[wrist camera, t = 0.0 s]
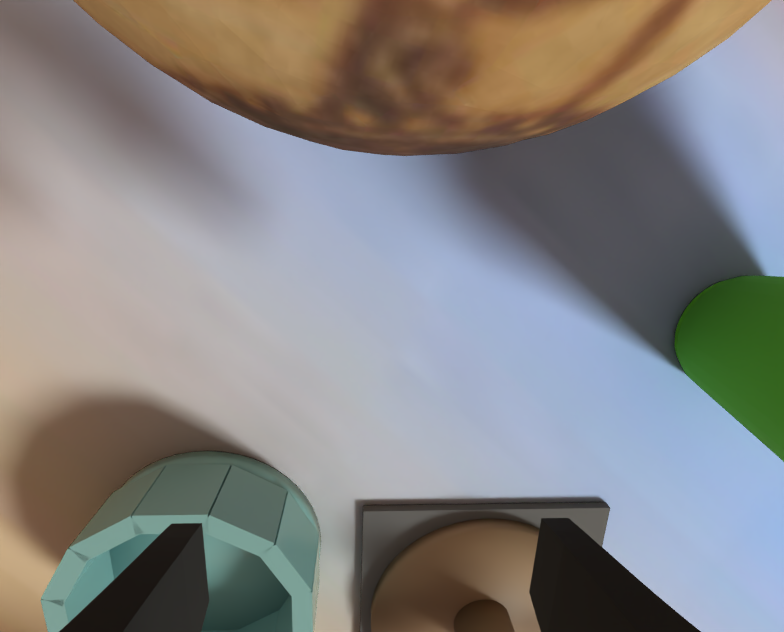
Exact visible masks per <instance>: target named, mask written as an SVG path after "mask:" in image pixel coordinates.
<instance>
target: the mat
mask: <svg viewBox="0 0 784 632" xmlns="http://www.w3.org/2000/svg"><path fill="white" fill-rule="evenodd" d="M609 511H610V507H609V506H608V505H607V503H606V502H593V503H520V504H446V505H372V506H363V539H362V576H361V612H360V632H371V604H372V598H373V594H374V591H375V588H376V586H377V583H378V581H379V579H380V577H381V576H382V574H383V573H384V571H385V569H386V568H387V566H388V565H389V564H390V563H391V562H392V561H393V559H394V558H395V557H396V556H397V555H398V554H399V553H401V552H402V551H403V550H404V549H405V548H406V547H407V546H409V545H410V544H412V543H413V542H415V541H416V540H417V539H419V538H421V537H423V536H425V535H426V534H428V533H430V532H432V531H435V530H437V529H439V528H442V527H444V526H448V525H451V524H454V523H458V522H462V521H468V520H474V519H487V518H490V519H506V520H513V521H518V522H522V523H525V524H529V525H531V526H534V527H536V528H538V529H540V523H541V518H569V519H570V520H572V521H573V522H574V523H575V524H576V525H577V526H579V527H580V528H581V529H582V530H583V531H584V532H585V533H587V534H588V535H589V536H590V537H591V538H592V539H593V540H594V541H596V542H597V543H598V544H599V545H600V546H601V547H602V544H603V539H604V534H605V530H606V525H607V520H608V516H609Z"/></svg>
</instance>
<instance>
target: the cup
mask: <svg viewBox="0 0 784 632" xmlns="http://www.w3.org/2000/svg"><path fill="white" fill-rule="evenodd" d="M674 346H675V351H676V356H677V358H678V360H679V362H680V365H681V366H682V368H683V370H684V372H685V374H686V375H687V376H688V377H689V378H690V379H691V380H692V381H693V382H695V383H696V384H697V385H698V386H699V387H700V388H701V389H702V390H704V391H705V392H706V393H707V394H708V395H709V396H710V397H712V398H713V399H714V400H715V401H716V402H717V403H718V404H719V405H721V406H722V407H723V408H724V409H725V410H726V411H727V412H728V413H730V414H731V415H732V416H733V417H734V418H735V419H736V420H737V421H739V422H740V423H741V424H742V425H743V426H744V427H745V428H746V429H748V430H749V431H750V432H751V433H752V434H753V435H754V436H756V437H757V438H758V439H759V440H760V441H761V442H762V443H763V444H765V445H766V446H767V447H768V448H769V449H770V450H771V451H772V452H774V453H775V454H776V455H777V456H778V457H779V458H780V459H781V460H783V461H784V277H775V276H739V277H736V278H732V279H728V280H725V281H721V282H718V283H716V284H714V285H712V286H710V287H708V288H706V289H705V290H704V291H702V292H701V293H700V294H699V295H697V296H696V297H695V298H694V299H693V300H692V301H691V303H690V304H689V305H688V306H687V307H686V309H685V310H684V312H683V314H682V316H681V318H680V319H679V322H678V325H677V328H676V332H675V343H674Z"/></svg>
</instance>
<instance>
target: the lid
mask: <svg viewBox="0 0 784 632" xmlns="http://www.w3.org/2000/svg"><path fill="white" fill-rule="evenodd" d="M538 535H539V529H538V528H536V527H534V526H531V525H529V524H525V523H522V522H518V521H513V520H506V519H490V518H487V519H474V520H468V521H462V522H458V523H454V524H451V525H448V526H444V527H442V528H439V529H437V530H435V531H432V532H430V533H428V534H426V535H425V536H423V537H421V538H419V539H417V540H416V541H415V542H413V543H412V544H410V545H409V546H407V547H406V548H405V549H404V550H403V551H402V552H401V553H399V554H398V555H397V556H396V557H395V558H394V559H393V561H392V562H391V563H390V564H389V565H388V566H387V568H386V569H385V571H384V573H383V574H382V576H381V577H380V579H379V581H378V583H377V586H376V588H375V591H374V594H373V598H372V604H371V632H541V630H540V627H539V624H538V621H537V617H536V614H535V611H534V607H533V604H532V600H531V597H530V593H529V590H530V584H531V578H532V572H533V566H534V560H535V553H536V547H537V541H538Z"/></svg>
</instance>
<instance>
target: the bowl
mask: <svg viewBox="0 0 784 632" xmlns="http://www.w3.org/2000/svg"><path fill="white" fill-rule="evenodd" d="M174 523H202V528H203V538H204V549H205V560H206V571H207V582H208V592H209V604H208V608H207V611H206V615H205V619H204V623H203V626H202V630H201V632H314V627H315V618H316V608H317V598H318V588H319V559H320V548H321V534H320V527H319V523H318V519H317V517H316V514H315V512H314V510H313V507H312V506H311V504H310V503H309V501H308V499H307V498H306V496H305V495H304V494H303V493H302V491H301V490H300V489H299V488H298V487H297V486H296V485H295V484H294V483H293V482H292V481H291V480H290V479H288V478H287V477H286V476H284V475H283V474H281V473H280V472H279V471H277V470H275V469H274V468H272V467H270V466H268V465H266V464H264V463H262V462H259V461H257V460H254V459H252V458H249V457H245V456H242V455H238V454H233V453H226V452H216V451H199V452H188V453H183V454H177V455H174V456H170V457H167V458H164V459H161V460H159V461H157V462H154V463H152V464H150V465H148V466H147V467H145V468H143V469H142V470H140V471H138V472H137V473H136V474H135V475H133V476H132V477H131V478H130V479H128V480H127V482H126V483H125V484H124V485H123V486H122V487H121V488H120V489H118V490H116V491H115V492H113V493H112V494H111V495H110V497H109V498H108V499H107V500H106V502H105V503H104V504H103V505H102V507H101V508H100V509H99V510H98V512H97V513H96V514H95V515H94V517H93V518H92V519H91V520H90V522H89V523H88V524H87V525H86V527H85V528H84V529H83V530H82V532H81V533H80V534H79V535H78V536H77V538H76V539H75V540H74V541H73V543H72V544H71V545H70V546H69V548H68V549H67V551H66V553H65V555H64V557H63V558H62V560H61V562H60V564H59V566H58V568H57V570H56V571H55V573H54V575H53V577H52V579H51V581H50V582H49V584H48V586H47V588H46V590H45V592H44V594H43V595H42V597H41V604H42V608H43V612H44V617H45V621H46V625H47V630H48V632H59V631H60V630H61V629H62V628H64V627H65V626H66V625H67V624H68V623H69V622H70V621H71V620H72V619H73V618H74V617H75V616H77V615H78V614H79V613H80V612H81V611H82V610H83V609H84V608H85V607H86V606H87V605H88V604H89V603H90V602H91V601H92V600H93V599H94V598H95V597H97V596H98V595H99V594H100V593H101V592H102V591H103V590H104V589H105V588H106V587H107V586H108V585H109V584H110V583H111V582H112V581H113V580H114V579H115V578H116V577H117V576H118V575H119V574H120V573H121V572H122V571H123V570H124V569H125V568H127V567H128V566H129V565H130V564H131V563H132V562H133V561H134V560H135V559H136V558H137V557H138V556H139V555H140V554H141V553H142V552H143V551H144V550H145V549H146V548H147V547H148V546H149V545H150V544H151V543H152V542H153V541H154V540H155V539H156V538H157V537H158V536H159V535H160V534H161V533H162V532H163V531H164V530H165V529H166V528H167V527H168V526H169V525H171V524H174Z"/></svg>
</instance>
